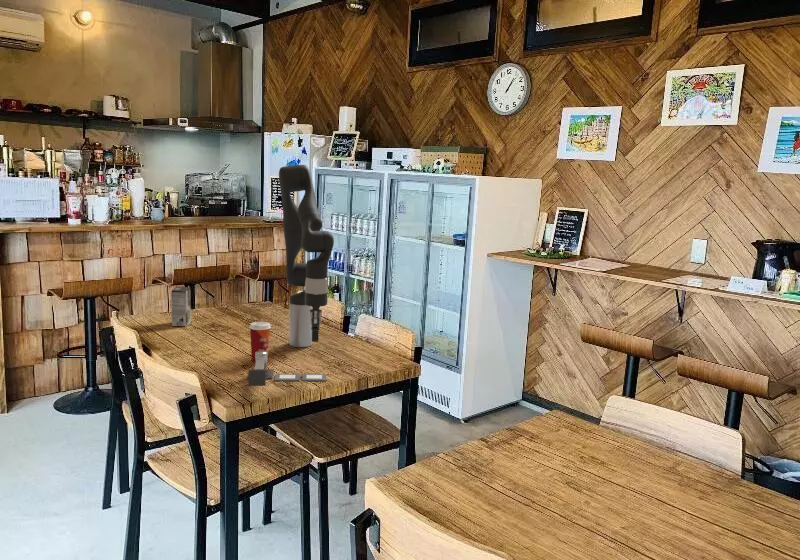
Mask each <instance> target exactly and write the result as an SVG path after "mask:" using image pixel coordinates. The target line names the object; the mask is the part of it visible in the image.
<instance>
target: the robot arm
mask: <svg viewBox="0 0 800 560" xmlns="http://www.w3.org/2000/svg"><path fill="white" fill-rule="evenodd" d="M278 181H279V182H278V183H279V189H280V196H281V197H280V198H281V204H282V216H283V218H282V219H283V221H282V222H283V236H284V244H285V263H286V264H285V269H286V270H285V272H286V276H285V277H286V282H287V284H288V285H289V286H291V287H304V289H303V290H302V291H299V292H297V293H294V294H292V295H290V296H289V321H288V322H289V323H288V325H289V328H288V330H289V331H288V332H289V333H288V337H289V338H288V340H289V341H288V345H289V346H291V347H293V348H307V347H311V346H312V345H313V343H318V342H319V338H320V337H319V336H320V335H319V332H320V326H321V324H322V322H321V321H322V315H323V313H322V312H323V311H322V310H323V309H320V307H325V306H327V305H328V295H329V294H328V293H329V292H328V291H329V289H328V288H329V283H328V281H329V280H328V270H329V269H328V268H329V267H328V266H329V261H330V259H331V258H330V257H331V255H332V251H333V248H334V244H335V240H334V239H335V238H334V236H333V234H332V233H331V232H330V231H329V230H322V228H323V220H322V218H321V215H320V212H319V210H318V206H317V200H316V194H315V189H314V188H315V187H314V184H313V179H312V174H311V171H310V169H309V167H308V166H307V165H306V164H295V165H293V164H292V165H287V166H282V167H279V171H278ZM302 191H304V195H303V197H302V199H301V200H300V202H299V204H298V205H297V204H296V203H295V201H294V200H293V199H292V196H291V193H294V192H302ZM301 250H304V251H305V252H307V253H319V255H318V256H317V257H315V258H312V259H308V260H307V262H306V263H301V262H296V258H297V256H298V255H299V253H300V252H301Z"/></svg>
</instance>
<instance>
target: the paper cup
mask: <svg viewBox="0 0 800 560" xmlns="http://www.w3.org/2000/svg"><path fill="white" fill-rule="evenodd" d="M248 328H249V330H250V331H249V334H250V349H251V351H250V352H251V362H253V363H255V352H257V351H267V361H268V358H269V350H270V349H269V347H270V334H271V333H270V331H271V328H272V326H271V324H270V323H269V322H266V321H254V322H251V323H250V325H249V326H248ZM255 364H256V363H255Z"/></svg>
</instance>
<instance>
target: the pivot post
mask: <svg viewBox="0 0 800 560" xmlns="http://www.w3.org/2000/svg"><path fill="white" fill-rule="evenodd" d="M264 369H266V380H273V376H274V372H275V369H274V368H267V363H266V364H264ZM247 379H248V380H249V374H247Z"/></svg>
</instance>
